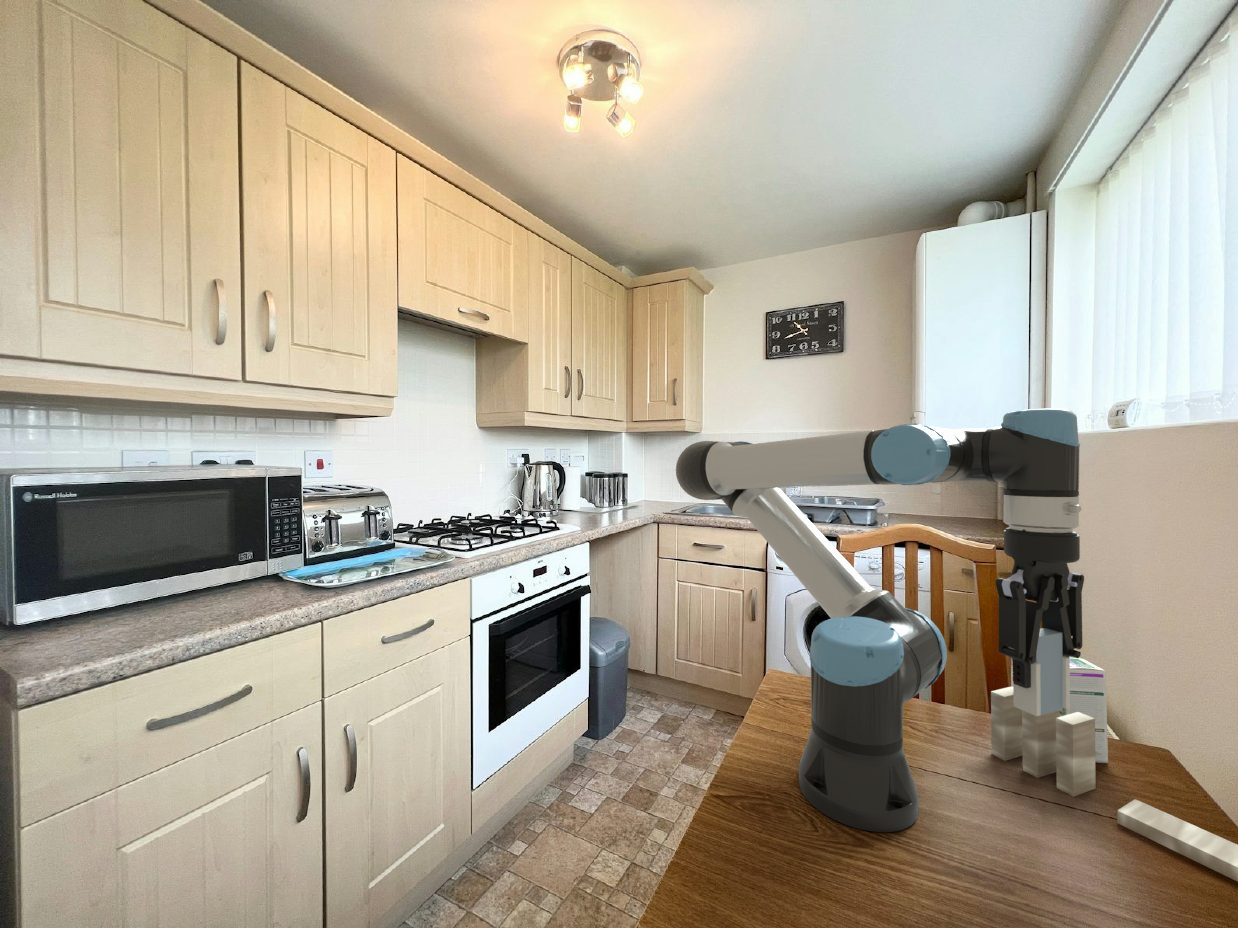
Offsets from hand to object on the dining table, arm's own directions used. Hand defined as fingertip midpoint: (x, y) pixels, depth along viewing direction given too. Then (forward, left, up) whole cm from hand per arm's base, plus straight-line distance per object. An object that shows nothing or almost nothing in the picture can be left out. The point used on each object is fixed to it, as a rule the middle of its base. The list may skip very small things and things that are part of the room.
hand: (1041, 706), depth 64 cm
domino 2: (0, 0, 0) cm, 0 cm away
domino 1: (0, +16, -15) cm, 22 cm away
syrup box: (+10, +22, -15) cm, 28 cm away
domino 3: (+4, +13, -15) cm, 20 cm away
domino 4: (+7, +10, -15) cm, 19 cm away
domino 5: (+10, +5, -14) cm, 18 cm away
